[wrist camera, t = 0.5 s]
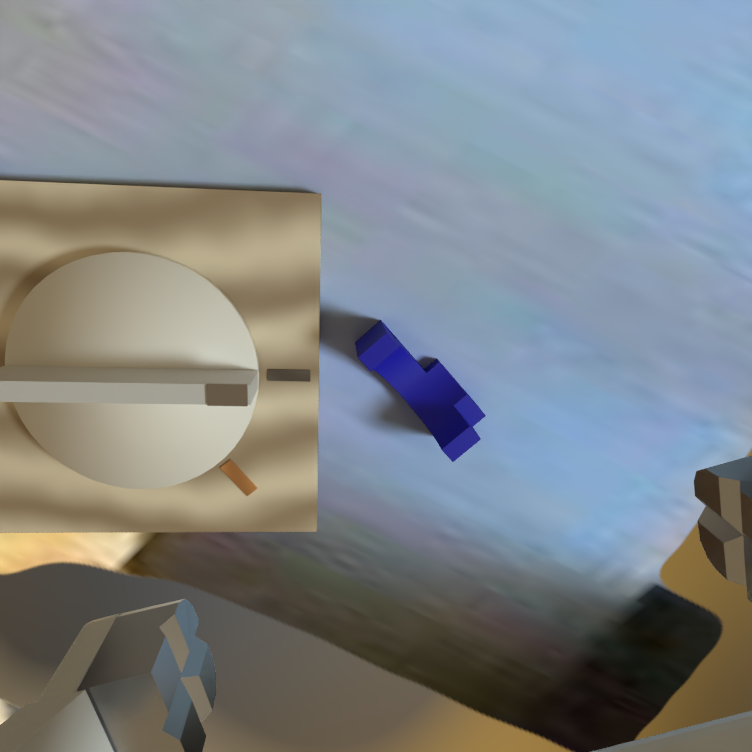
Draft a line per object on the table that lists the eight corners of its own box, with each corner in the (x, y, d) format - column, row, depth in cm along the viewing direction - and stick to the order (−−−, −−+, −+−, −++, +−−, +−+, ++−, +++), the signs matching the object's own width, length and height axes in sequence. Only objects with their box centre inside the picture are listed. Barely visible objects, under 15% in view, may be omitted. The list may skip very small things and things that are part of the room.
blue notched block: (477, 405, 54) (494, 427, 48) (440, 436, 54) (452, 462, 49) (393, 308, 51) (401, 320, 45) (355, 342, 52) (357, 357, 46)
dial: (-1, 247, 46) (-50, 251, 40) (258, 255, 47) (247, 260, 41) (28, 481, 51) (-11, 515, 45) (261, 482, 52) (252, 515, 47)
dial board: (-65, 178, 46) (-80, 176, 44) (321, 194, 48) (320, 193, 46) (-14, 524, 53) (-24, 533, 52) (317, 523, 56) (316, 532, 54)
